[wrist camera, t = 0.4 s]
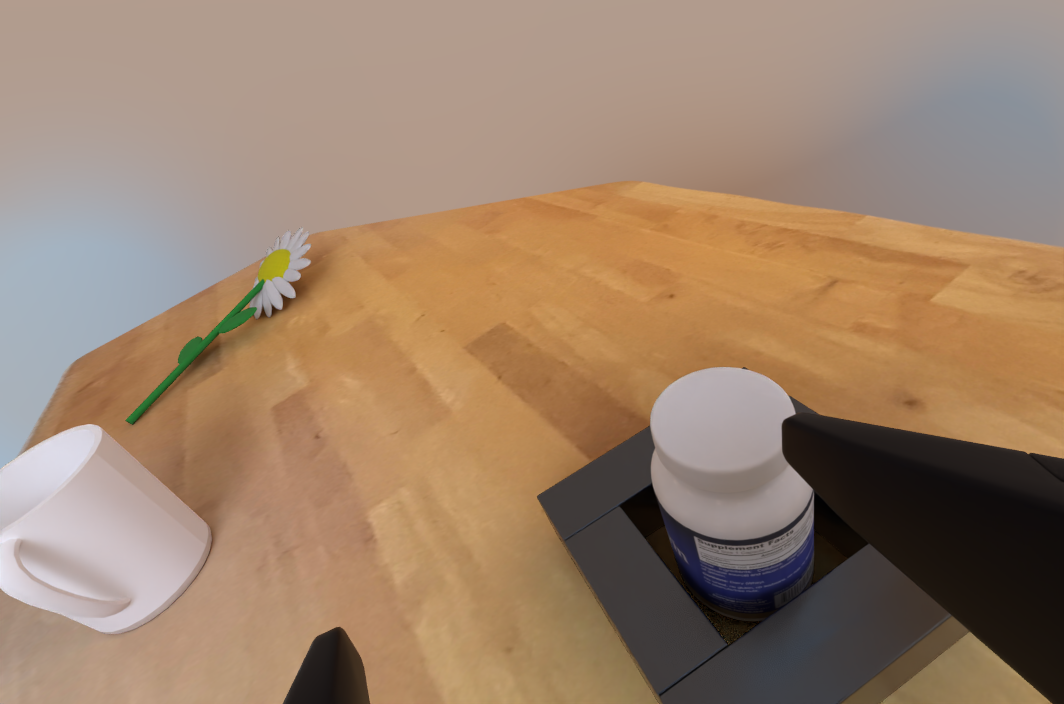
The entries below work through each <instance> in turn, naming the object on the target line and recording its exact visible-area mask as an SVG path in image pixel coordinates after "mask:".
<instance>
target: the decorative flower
mask: <svg viewBox="0 0 1064 704" xmlns="http://www.w3.org/2000/svg"><path fill="white" fill-rule="evenodd" d="M302 231H303V227H302V228H299V229H298V230H297V232H296V233H295V234H294V235H293V237H292V238H291V231H287V232H286V233H285V234H284V236H283V238H282V240H281V242H280V237H277V238H276V241H275V244H274V249H272V248H271V247H269V248H268V249H267V252H266V259H265V260H263V261H262V262H261V263H260V269H259V273H258V276H257V278H256V279H255V284H254V286H253V289H252V290H251V291H250V292H249V293H248V294H247V295H246V296H245V297H244V299H243V300H242V301H241V302H240V303H239V304H238V305H237V306H236V307H235V308H234V309H233V310H232V311H231V312H230V313H229V314H228V315H227V316H226V317H225V318H224V319H223V320H222V321H221V322H220V323H219V324H218V325H217V326H216V327H215V328H214V329H213V331H212V332H211V333H210V334H209V335H208V336H207V337H206V338H205V339H204V340H203V341H202V338H201V337H196V338H194V339H192V340H191V341H189V342H188V343H187V344H186V345H185V347H184V348H183V349H182V351H181V352H180V355H179V358H178V363H179V364H180V365H179V366H178V367H177V368H176V369H175V370H174V371H173V372H172V373H171V374H170V375H169V376H168V377H167V378H166V379H165V380H164V381H163V382H162V383H161V384H160V385H159V386H158V387H157V388H156V389H155V390H154V391H153V392H152V393H151V394H150V395H149V397H148V398H147V399H146V400H145V401H144V402H143V403H142V404H141V405H140V406H139V407H138V408H137V409H136V410H135V411H134V412H133V413H132V414H131V415H130V416H129V417H128V418H127V419H126V420H125V421H127V422H128V423H130V424H134V422H135V421H136V420H137V419H138V418H139V417H140V416H141V415H142V414H143V413H144V412H145V411H146V410H147V409H148V408H149V407H150V406H151V405H152V404H153V403H154V402H155V400H156V399H157V398H158V397H159V396H160V395H161V394H162V393H163V392H164V391H165V390H166V389H167V388H168V387H169V386H170V385H171V384H172V383H173V382H174V381H175V380H176V378H177V377H178V376H179V375H180V374H181V373H182V372H183V371H184V370H185V369H186V368H187V367H188V366H189V365H190V364H191V363H192V362H193V361H194V360H195V359H196V358H197V357H198V355H199V354H200V353H201V352H202V351H203V350H204V349H205V348H206V347H207V346H208V345H209V344H210V343H211V342H212V341H213V340H214V339H215V338H216V337H217V336H218V335H219V333H226V332H228V331H230V330H233V329H235V328H237V327H238V326H240V325H241V324H243V323H244V322H246V321H247V320H248V319H249V318H250V317H252V316H253V315H254V316H255V318H256V320H257V319H258V318H259V317H260V314H261V312H262V308H263V307H264V310H265V313H266V315H267V316H268V317H269V318H270V316H271V314H272V305H273V306H274V307H275V308H276V309H280V310H281V309H282V307H283V299H282V296H281V294H283V295H284V296H286V297H289V298H295V297H296V293H295V290H294V288H293V287H292V286H291V285H290V284H289V281H290V282H294V281H297V280H299V279H300V277H301V274H300V273H299V272H298V271H296V270H299V269H303V268H305V267H307V266H308V265H309V264H310V263H311V261H310V260H309V259H305V258H304V259H300V258H301V257H302V256H303V255H304V254H305V253H306V252H307V251H308V250H309V249H310V247H311V244H306V245H303V244H304V243H305V241H306V240H307V238H308V235H309V232H306V233H305V234H304V235H302V236H301V234H302ZM300 236H301V237H300ZM249 302H250V308H248V309H246V310H243V311H241V310H242V309H243V308H244V307H245V306H246V305H247V304H248V303H249ZM240 311H241V312H240Z"/></svg>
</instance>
